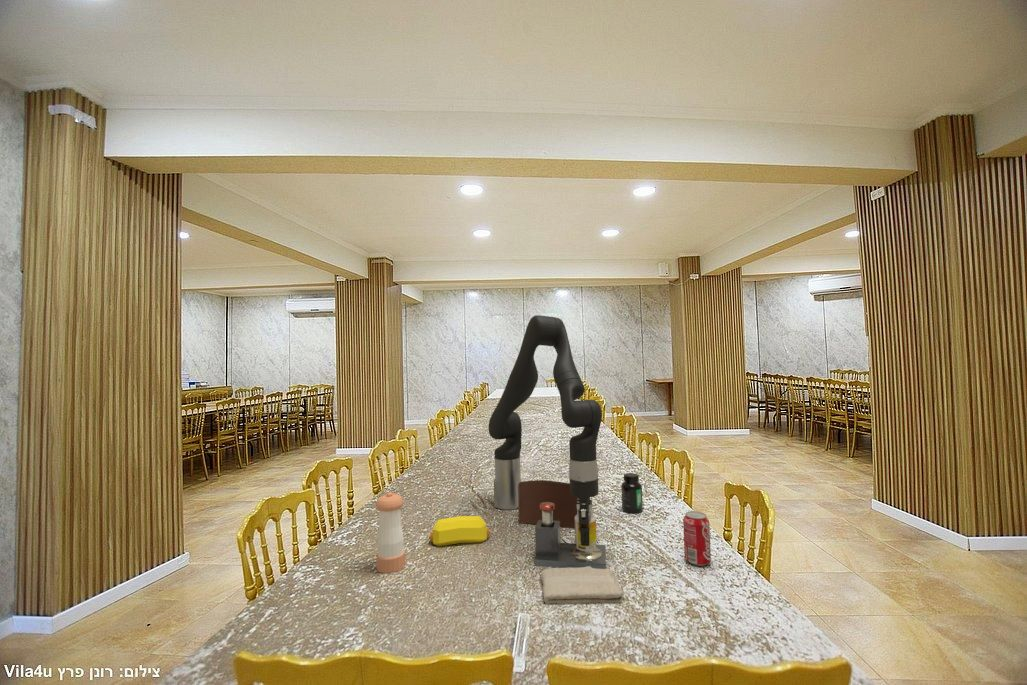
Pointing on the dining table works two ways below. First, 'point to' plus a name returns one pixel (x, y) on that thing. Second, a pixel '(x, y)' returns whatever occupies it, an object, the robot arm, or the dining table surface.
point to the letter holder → (546, 492)
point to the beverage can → (697, 538)
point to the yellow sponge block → (459, 530)
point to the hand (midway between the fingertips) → (585, 539)
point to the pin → (547, 513)
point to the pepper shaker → (390, 534)
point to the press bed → (564, 550)
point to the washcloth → (580, 585)
